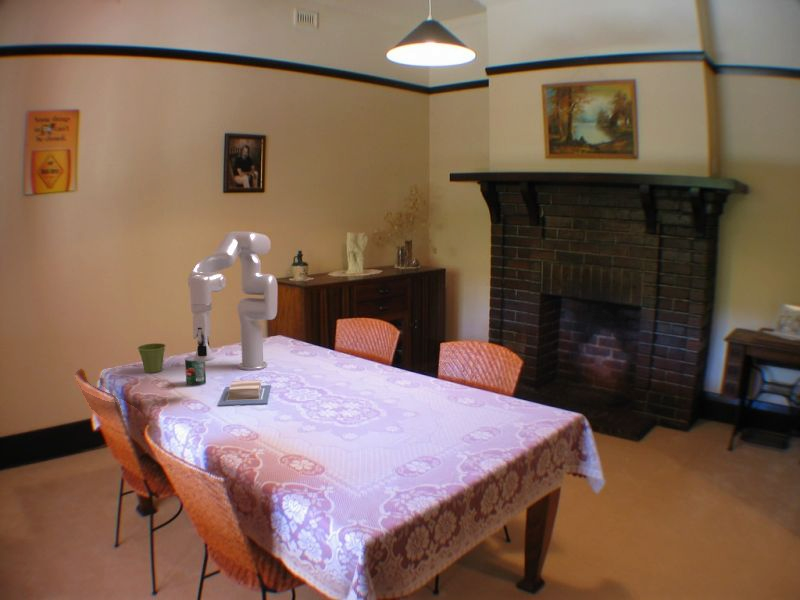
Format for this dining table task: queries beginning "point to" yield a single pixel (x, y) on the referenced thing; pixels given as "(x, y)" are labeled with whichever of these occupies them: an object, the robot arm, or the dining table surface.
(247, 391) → the birch plinth
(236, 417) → the dining table surface
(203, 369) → the canned tomato
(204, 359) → the flask
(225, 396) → the board
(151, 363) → the plant pot
